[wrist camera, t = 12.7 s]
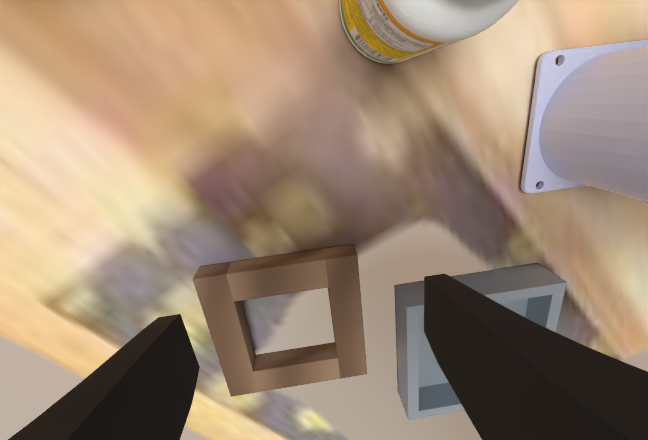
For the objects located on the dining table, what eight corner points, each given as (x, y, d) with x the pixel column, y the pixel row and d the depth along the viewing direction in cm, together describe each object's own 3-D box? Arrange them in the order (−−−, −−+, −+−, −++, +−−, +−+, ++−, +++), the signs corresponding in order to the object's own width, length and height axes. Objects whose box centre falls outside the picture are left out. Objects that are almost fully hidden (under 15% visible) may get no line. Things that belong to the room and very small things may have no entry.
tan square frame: (352, 243, 20) (357, 254, 18) (362, 357, 24) (367, 373, 22) (199, 266, 19) (192, 279, 18) (234, 378, 23) (231, 396, 22)
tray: (537, 263, 22) (566, 282, 20) (518, 370, 26) (541, 397, 23) (394, 285, 21) (406, 307, 19) (397, 390, 25) (408, 420, 23)
